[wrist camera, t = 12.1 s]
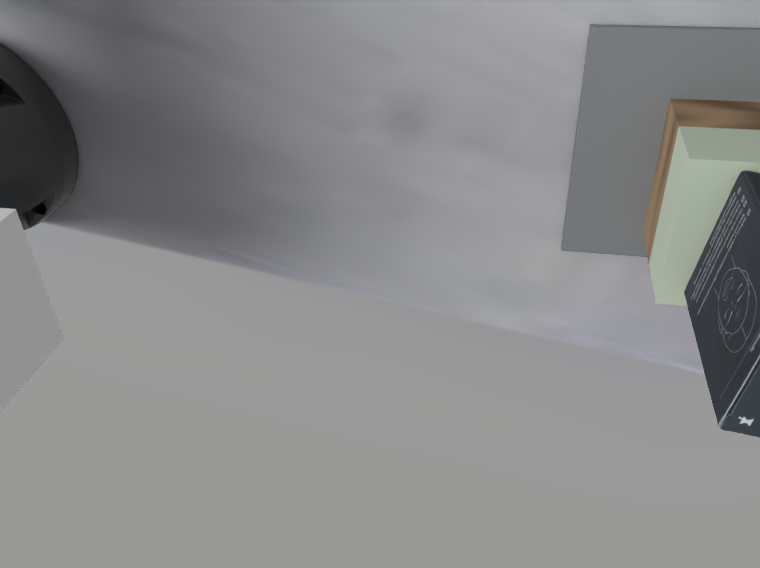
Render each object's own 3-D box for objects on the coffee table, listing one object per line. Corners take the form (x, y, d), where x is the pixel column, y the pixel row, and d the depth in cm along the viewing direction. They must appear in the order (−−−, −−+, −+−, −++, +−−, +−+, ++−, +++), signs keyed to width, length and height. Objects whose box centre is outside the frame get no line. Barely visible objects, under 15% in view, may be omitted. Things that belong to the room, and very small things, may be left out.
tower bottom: (643, 230, 48) (648, 264, 44) (669, 98, 42) (678, 126, 39) (791, 241, 46) (808, 277, 43) (839, 104, 41) (862, 134, 38)
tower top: (648, 264, 44) (655, 303, 41) (678, 126, 39) (689, 158, 36) (808, 277, 43) (828, 318, 40) (862, 134, 38) (890, 169, 34)
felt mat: (561, 247, 50) (561, 250, 50) (590, 24, 41) (590, 26, 41) (797, 264, 47) (799, 268, 47) (882, 30, 39) (884, 32, 38)
